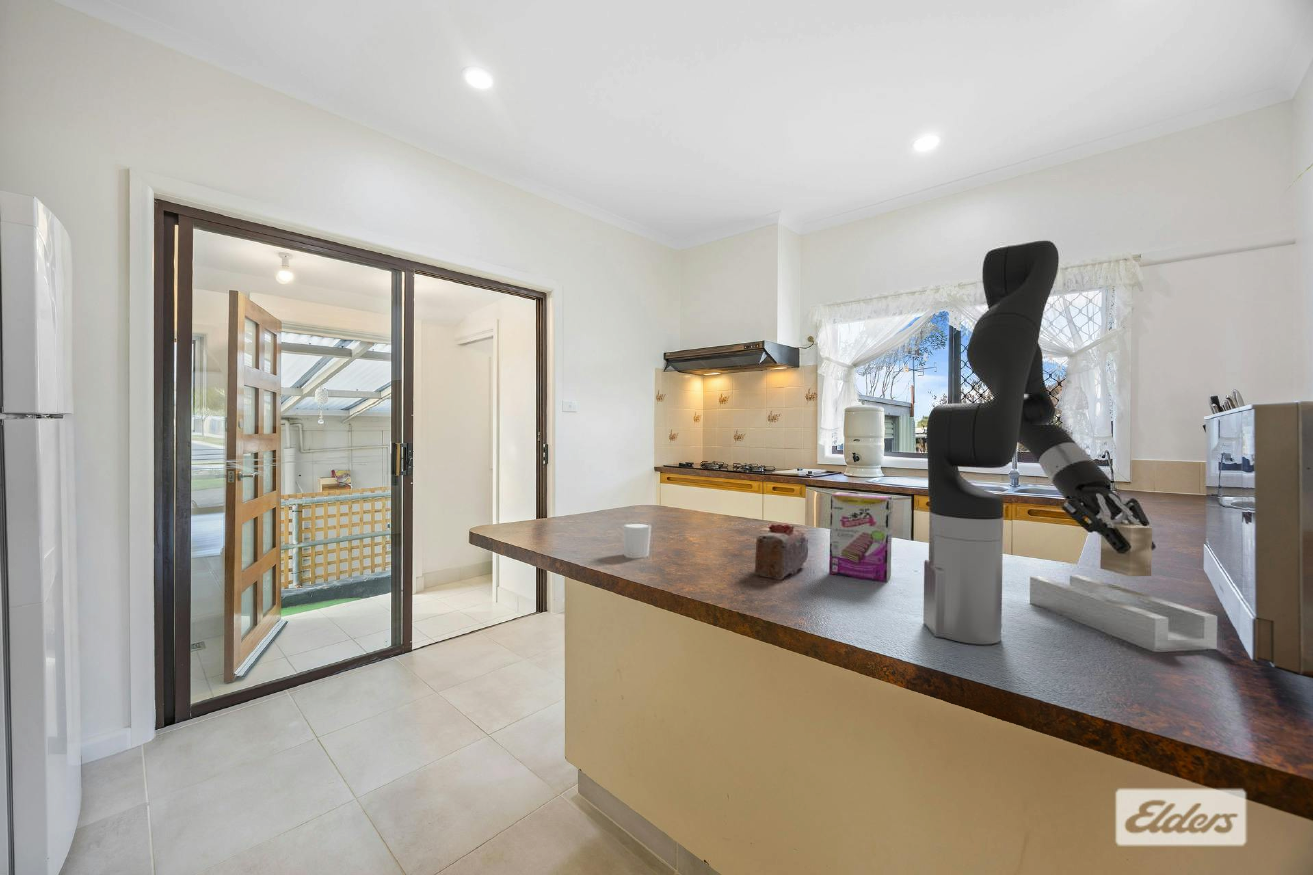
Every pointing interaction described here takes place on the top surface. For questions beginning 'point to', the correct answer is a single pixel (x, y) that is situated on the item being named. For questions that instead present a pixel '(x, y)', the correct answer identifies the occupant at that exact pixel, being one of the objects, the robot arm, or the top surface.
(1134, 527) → the oak block
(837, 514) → the candy bar box
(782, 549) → the food item
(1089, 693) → the top surface
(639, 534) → the white cylinder
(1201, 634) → the rail
